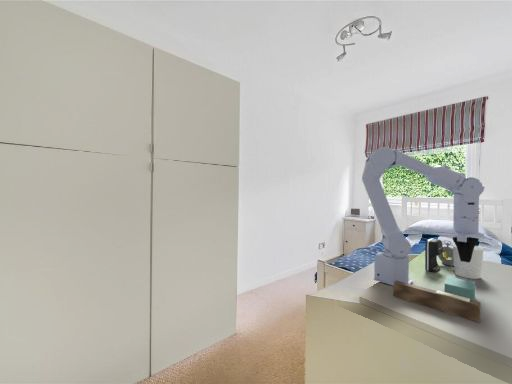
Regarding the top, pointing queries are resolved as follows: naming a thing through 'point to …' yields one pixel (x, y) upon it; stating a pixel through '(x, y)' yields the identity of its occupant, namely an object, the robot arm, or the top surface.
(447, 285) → the teal block
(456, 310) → the walnut board
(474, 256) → the white cup
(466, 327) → the top surface
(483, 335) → the top surface
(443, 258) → the pocket watch
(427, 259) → the battery charger
